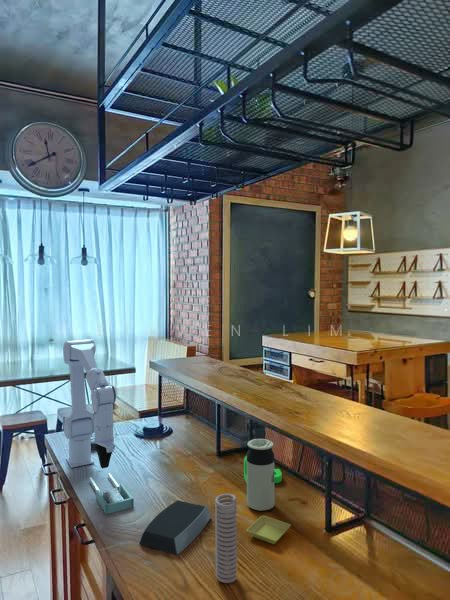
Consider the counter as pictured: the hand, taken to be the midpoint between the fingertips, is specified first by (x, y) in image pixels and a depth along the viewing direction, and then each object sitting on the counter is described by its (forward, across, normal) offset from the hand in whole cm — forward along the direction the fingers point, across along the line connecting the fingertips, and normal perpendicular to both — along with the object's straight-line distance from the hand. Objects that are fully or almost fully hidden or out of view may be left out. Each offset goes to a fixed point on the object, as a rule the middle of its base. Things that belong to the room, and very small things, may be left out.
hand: (104, 467), depth 136 cm
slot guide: (+7, -1, 0) cm, 7 cm away
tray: (+7, +10, 0) cm, 12 cm away
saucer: (+7, +47, +30) cm, 56 cm away
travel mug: (+7, +34, +36) cm, 50 cm away
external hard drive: (+7, +33, +10) cm, 35 cm away
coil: (+6, +55, +12) cm, 57 cm away
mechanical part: (+7, +21, +46) cm, 51 cm away
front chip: (+7, +11, 0) cm, 13 cm away
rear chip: (+7, +7, 0) cm, 10 cm away
